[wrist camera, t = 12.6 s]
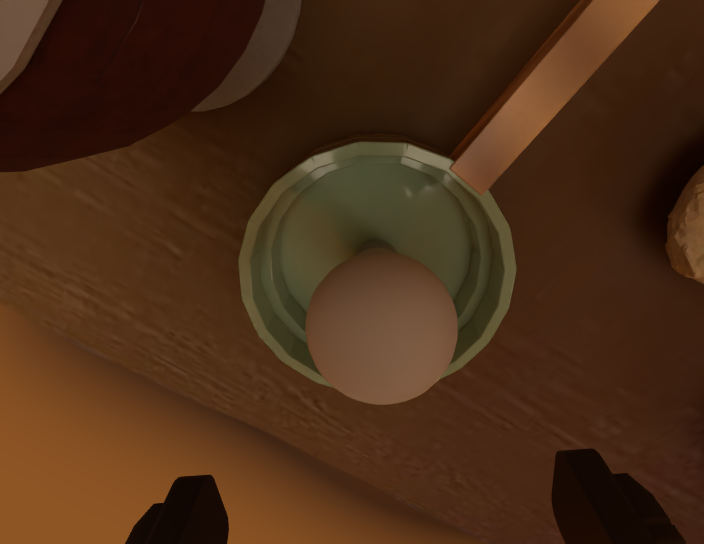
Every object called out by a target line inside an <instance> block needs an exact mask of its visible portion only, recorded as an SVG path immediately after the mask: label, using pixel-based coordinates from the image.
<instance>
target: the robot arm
mask: <svg viewBox="0 0 704 544" xmlns="http://www.w3.org/2000/svg"><path fill="white" fill-rule="evenodd" d="M552 507H553V512H554V516H555V519H556V522H557V525H558V527H559V530H560V532H561V534H562V537H563V539H564V541H565V543H566V544H686V542H685V540H684V539H683V537H682V536H681V535H680V533H679V532H678V530H677V529H676V527H675V526H674V525H672V524H671V522H670V519H669V518H668V516H667V515H666V513H665V512H664V510H663V509H662V508H661V506H660V505H659V503H658V502H657V501H656V499H655V498H654V496H653V495H652V494H651V493H650V492H649V491H648V490H646V489H645V488H644V487H643V486H642V485H640V484H639V483H638V482H637V481H635V480H634V479H633V478H632V477H631V476H629V475H628V474H627V473H622V474H612V473H611V471H610V470H609V468H608V466H607V465H606V463H605V462H604V460H603V459H602V457H601V456H600V454H599V453H598V452H597V451H596V450H595V449H578V450H564V451H558V452H557V453H556V457H555V467H554V477H553V487H552ZM228 531H229V524H228V516H227V513H226V510H225V508H224V505H223V502H222V500H221V497H220V494H219V491H218V488H217V486H216V483H215V480H214V478H213V476H211V475H199V476H184V477H179V478H177V479H176V480H175V481H174V483H173V485H172V487H171V489H170V491H169V493H168V495H167V497H166V499H165V501H164V503H158V504H153V505H152V506H151V507H150V509H149V510H148V511H147V512H146V513H145V514H144V515H143V517H142V518H141V519H140V520H139V521H138V522H137V523H136V524H135V526H134V527H133V529H132V531H131V533H130V535H129V537H128V539H127V541H126V543H125V544H227V540H228Z"/></svg>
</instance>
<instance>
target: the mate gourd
mask: <svg viewBox="0 0 704 544" xmlns="http://www.w3.org/2000/svg"><path fill="white" fill-rule="evenodd" d="M301 2H302V0H0V172H18V171H28V170H32V169H36V168H41V167H45V166H49V165H53V164H57V163H62V162H66V161H70V160H74V159H78V158H83V157H87V156H91V155H95V154H99V153H103V152H107V151H111V150H115V149H119V148H123V147H127V146H130V145H131V144H133V143H135V142H137V141H139V140H141V139H143V138H145V137H147V136H149V135H151V134H153V133H154V132H156V131H158V130H160V129H162V128H164V127H166V126H168V125H169V124H171V123H173V122H174V121H176V120H178V119H179V118H181V117H182V116H184V115H186V114H187V113H189V112H198V111H208V110H212V109H216V108H220V107H224V106H228V105H230V104H232V103H234V102H236V101H238V100H240V99H242V98H244V97H246V96H248V95H249V94H251V93H252V92H253V91H254V90H255V89H257V88H258V87H259V86H260V85H261V84H263V83H264V82H265V81H266V80H267V79H268V78H269V76H270V75H271V74H272V73H273V71H274V70H275V69H276V67H277V66H278V65H279V64H280V62H281V61H282V59H283V57H284V55H285V53H286V51H287V49H288V47H289V45H290V43H291V41H292V39H293V36H294V33H295V29H296V25H297V22H298V18H299V15H300V11H301Z"/></svg>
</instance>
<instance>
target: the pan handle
mask: <svg viewBox="0 0 704 544" xmlns="http://www.w3.org/2000/svg"><path fill="white" fill-rule="evenodd" d="M658 1H659V0H580V1H579V2H578V3H577V5H576V6H575V7H574V8H573V9H572V11H571V12H570V13H569V14H568V15H567V17H566V18H565V19H564V20H563V21H562V22H561V24H560V25H559V26H558V27H557V28H556V30H555V31H554V32H553V33H552V34H551V36H550V37H549V38H548V39H547V40H546V42H545V43H544V44H543V45H542V46H541V47H540V49H539V50H538V51H537V52H536V53H535V55H534V56H533V57H532V58H531V59H530V61H529V62H528V63H527V64H526V65H525V67H524V68H523V69H522V70H521V71H520V72H519V74H518V75H517V76H516V77H515V78H514V80H513V81H512V82H511V83H510V84H509V86H508V87H507V88H506V89H505V90H504V92H503V93H502V94H501V95H500V96H499V97H498V99H497V100H496V101H495V102H494V103H493V105H492V106H491V107H490V108H489V109H488V111H487V112H486V113H485V114H484V115H483V117H482V118H481V119H480V120H479V121H478V122H477V124H476V125H475V126H474V127H473V128H472V130H471V131H470V132H469V133H468V134H467V136H466V137H465V138H464V139H463V140H462V142H461V143H460V144H459V145H458V146H457V147H456V149H455V150H454V151H453V152H452V153H451V155H450V156H449V157H450V158H451V159H453V160H454V161H455V162H454V163H453V164H452V165H451V166H450V168H449V169H450V170H451V171H452V172H453V173H455V174H456V175H457V176H458V177H459V178H461V179H462V180H463V181H464V182H465V183H467V184H468V185H469V186H470V187H471V188H473V189H474V190H475V191H476V192H477V193H479V194H480V195H483V194H484V193H485V192H486V191H487V190H488V189H489V188H490V187H491V186H492V184H493V183H494V182H495V181H496V180H497V179H498V178H499V177H500V176H501V174H502V173H503V172H504V171H505V170H506V169H507V168H508V167H509V166H510V165H511V163H512V162H513V161H514V160H515V159H516V158H517V157H518V156H519V155H520V154H521V152H522V151H523V150H524V149H525V148H526V147H527V146H528V145H529V144H530V143H531V141H532V140H533V139H534V138H535V137H536V136H537V135H538V134H539V133H540V131H541V130H542V129H543V128H544V127H545V126H546V125H547V124H548V123H549V122H550V120H551V119H552V118H553V117H554V116H555V115H556V114H557V113H558V112H559V111H560V109H561V108H562V107H563V106H564V105H565V104H566V103H567V102H568V101H569V100H570V98H571V97H572V96H573V95H574V94H575V93H576V92H577V91H578V90H579V89H580V87H581V86H582V85H583V84H584V83H585V82H586V81H587V80H588V79H589V77H590V76H591V75H592V74H593V73H594V72H595V71H596V70H597V69H598V68H599V66H600V65H601V64H602V63H603V62H604V61H605V60H606V59H607V58H608V57H609V55H610V54H611V53H612V52H613V51H614V50H615V49H616V48H617V47H618V46H619V44H620V43H621V42H622V41H623V40H624V39H625V38H626V37H627V36H628V35H629V33H630V32H631V31H632V30H633V29H634V28H635V27H636V26H637V25H638V23H639V22H640V21H641V20H642V19H643V18H644V17H645V16H646V15H647V14H648V12H649V11H650V10H651V9H652V8H653V7H654V6H655V5H656V4H657V3H658Z"/></svg>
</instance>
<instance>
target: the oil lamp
mask: <svg viewBox="0 0 704 544" xmlns="http://www.w3.org/2000/svg"><path fill="white" fill-rule="evenodd" d="M668 218H669V220H668V223H667V243H666V244H665V247H666V253H667V254H668V256H669V258H670V263H671V266H672V267H673V269H674V270H676V271H677V272H678V273H679V274H680V275H683V276H685V277H688V278H693V279H695V280H696V281H698V282H700V283H703V284H704V165H703V166H702V167H701V168H700V169H699V170H698V171H697V172H696V173H695V174H694V175H693V176H692V178H691V179H690V180H689V182H688V183H687V185H686V186H685V188H684V189H683V191H682V193H681V195H680V197H679V199H678V200H677V202H676V204H675V206H674V208H673V210H672V211H671V213H670V214H669V215H668Z"/></svg>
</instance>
